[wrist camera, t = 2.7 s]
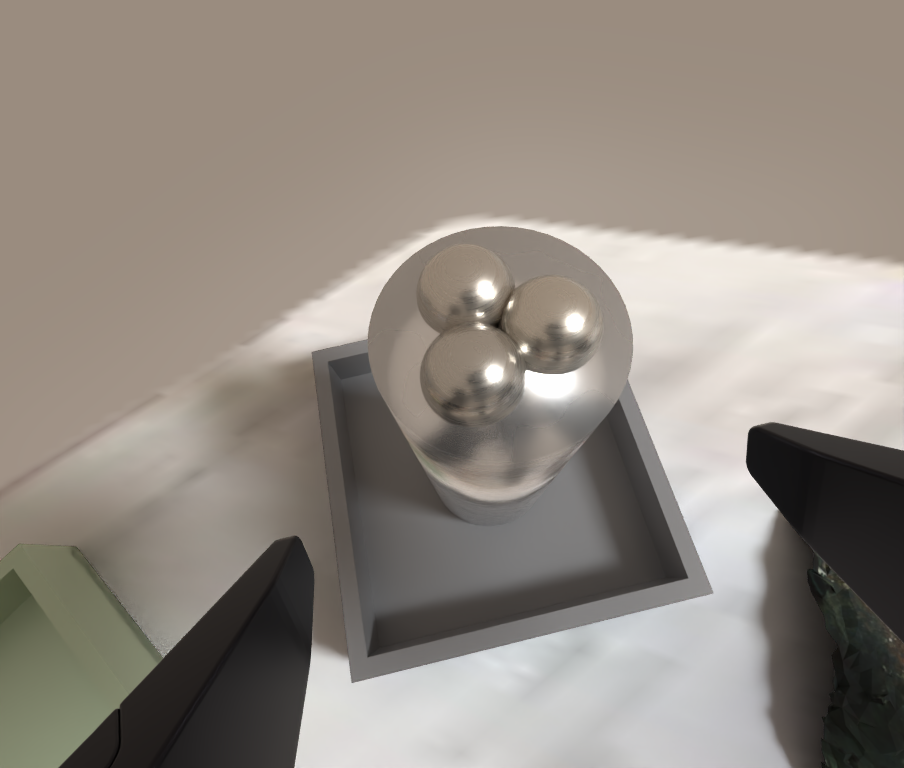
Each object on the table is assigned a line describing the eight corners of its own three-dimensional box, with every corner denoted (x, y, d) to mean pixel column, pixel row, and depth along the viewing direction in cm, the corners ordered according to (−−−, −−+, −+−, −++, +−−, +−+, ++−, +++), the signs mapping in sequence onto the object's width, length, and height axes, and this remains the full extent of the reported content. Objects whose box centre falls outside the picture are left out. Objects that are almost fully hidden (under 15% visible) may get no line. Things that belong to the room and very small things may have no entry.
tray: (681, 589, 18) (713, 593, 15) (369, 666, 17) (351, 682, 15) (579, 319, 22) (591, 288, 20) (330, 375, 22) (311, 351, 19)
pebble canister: (550, 522, 18) (684, 435, 6) (435, 530, 18) (352, 460, 6) (535, 411, 20) (618, 179, 8) (429, 420, 20) (357, 203, 8)
